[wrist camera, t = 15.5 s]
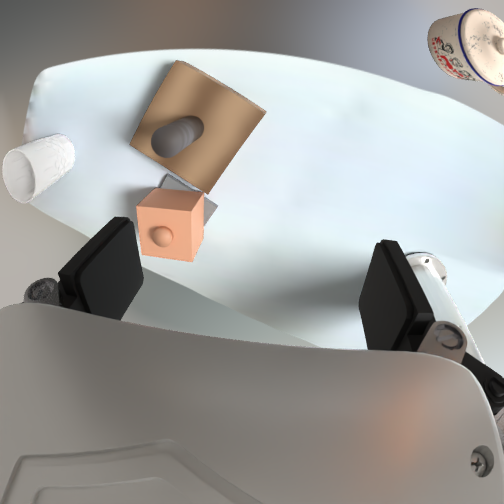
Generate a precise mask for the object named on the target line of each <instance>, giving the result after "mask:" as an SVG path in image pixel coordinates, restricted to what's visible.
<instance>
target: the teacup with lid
mask: <svg viewBox="0 0 504 504" xmlns="http://www.w3.org/2000/svg"><path fill="white" fill-rule="evenodd" d="M428 47H429V50H430V53H431V55H432V57H433V59H434V61H435V62H436V64H437V65H438V66H439V67H440V68H441V69H442V70H443V71H444V72H445V73H447V74H448V75H450V76H452V77H454V78H457V79H466V80H473V81H481V82H486V83H487V84H488V85H489V86H490V87H491V88H492V89H493V90H495V91H496V92H498V93H499V94H501V95H503V96H504V87H502V86H504V23H503V22H502V21H501V20H500V19H499V18H498V17H496V16H495V15H494V14H492V13H490V12H488V11H485V10H483V9H478V8H474V9H469V10H467V11H466V12H464V13H461V14H457V15H453V16H449V17H446V18H442V19H439V20H437V21H435V22H434V23H433V24H432V25H431V27H430V29H429V32H428Z"/></svg>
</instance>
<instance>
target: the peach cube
mask: <svg viewBox="0 0 504 504" xmlns="http://www.w3.org/2000/svg"><path fill="white" fill-rule="evenodd" d="M136 209H137V219H138V228H139V237H140V245H141V253H142V255H147V256H153V257H160V258H167V259H174V260H181V261H187V262H193V259H194V257H195V255H196V253H197V251H198V249H199V247H200V244H201V242H202V240H203V233H204V192H195V191H184V190H173V189H161V188H155V189H154V190H152V191H151V192H150V193H149V194H148V195H147V196H146V197H145V198H144V199H143V200H142V201H141V202H140V203H139V204H138V205H137V206H136Z"/></svg>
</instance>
